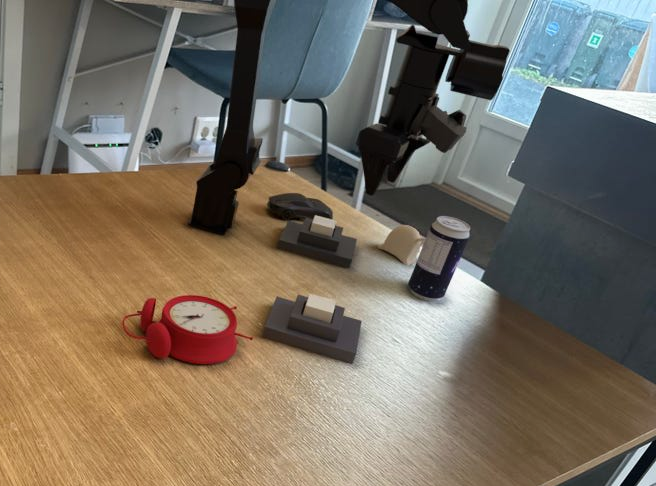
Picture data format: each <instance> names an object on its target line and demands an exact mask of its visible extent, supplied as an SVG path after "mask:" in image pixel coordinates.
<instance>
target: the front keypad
mask: <svg viewBox="0 0 656 486" xmlns="http://www.w3.org/2000/svg"><path fill="white" fill-rule="evenodd" d="M308 297H309V296H305V295H301V294H297V295H296V299H295V301H294V300H292V299H287V298H284V297H281V296H276V297H275V300H274V302H273V304H272V307H271V309H270V312H269V314H268V317H267V319H266V322H265V325H264V327H263V331H262V334H261V338H263V339H267V340H271V341H274V342H277V343H280V344H284V345H287V346H289V347H293V348H298V349H300V350H304V351H308V352H311V353H314V354H318V355H320V356H324V357H328V358H331V359H334V360H337V361H341V362H344V363H348V364H351V365H353V364H354V361H355V359H356V357H357V353H358V346H359V342H360V341H359V340H360V334H361V328H362V323H363V322H362V320H361V319H357V318H354V317H350V316H347V315H345V310H346V307H343V306H340V305H337V304H335V308H334V312H333V315H332V318H331V321H330V323H327V322H324V321H320V320H317V319H314V318H310V317H307V316H303V313H304V309H305V306H306V303H307V300H308Z"/></svg>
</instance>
